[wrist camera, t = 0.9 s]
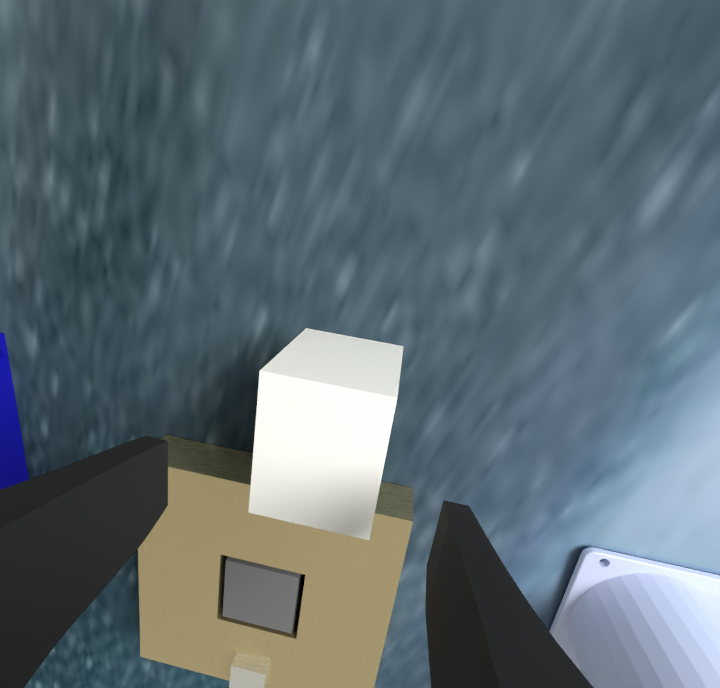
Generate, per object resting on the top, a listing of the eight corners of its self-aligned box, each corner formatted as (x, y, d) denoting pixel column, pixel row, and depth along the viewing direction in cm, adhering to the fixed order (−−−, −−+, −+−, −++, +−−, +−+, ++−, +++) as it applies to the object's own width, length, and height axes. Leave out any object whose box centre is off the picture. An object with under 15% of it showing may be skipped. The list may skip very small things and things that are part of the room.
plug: (405, 328, 19) (397, 397, 11) (387, 421, 20) (369, 540, 12) (323, 313, 19) (259, 370, 11) (311, 406, 20) (248, 512, 13)
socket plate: (413, 488, 21) (412, 534, 18) (371, 671, 25) (365, 735, 22) (165, 434, 22) (124, 468, 19) (165, 617, 26) (131, 670, 23)
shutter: (302, 568, 21) (299, 578, 21) (294, 623, 22) (291, 633, 22) (230, 551, 21) (225, 560, 21) (227, 606, 23) (222, 615, 22)
